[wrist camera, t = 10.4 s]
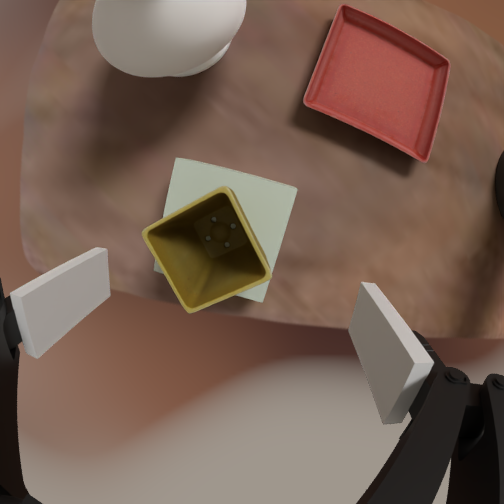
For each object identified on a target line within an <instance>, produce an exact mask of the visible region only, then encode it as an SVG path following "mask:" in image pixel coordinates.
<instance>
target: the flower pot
mask: <svg viewBox="0 0 504 504" xmlns="http://www.w3.org/2000/svg"><path fill="white" fill-rule="evenodd" d="M213 217H215V218H216V222H212V220H211V219H212V218H213ZM231 224H235V225H236V227H235V228H231ZM206 236H210V238H211V239H210V240H209V241H208V240H206ZM142 237H143V239H144V241H145V242H146V244H147V246H148V248H149V249H150V251H151V253H152V254H153V256H154V258H155V260H156V261H157V263H158V265H159V266H160V268H161V270H162V271H163V273H164V275H165V277H166V278H167V280H168V282H169V284H170V286H171V287H172V289H173V291H174V293H175V294H176V296H177V298H178V300H179V301H180V303H181V305H182V306H183V308H184V309H185V310H186V311H187V313H189V314H191V313H194V312H197V311H199V310H201V309H204V308H206V307H208V306H211V305H213V304H215V303H218V302H220V301H222V300H225V299H227V298H229V297H232V296H234V295H237V294H239V293H241V292H244V291H246V290H248V289H251V288H253V287H255V286H258V285H260V284H262V283H265V282H266V281H268V280H270V279H271V278H272V272H271V269H270V266H269V263H268V260H267V257H266V255H265V253H264V251H263V249H262V247H261V245H260V243H259V241H258V239H257V237H256V235H255V233H254V231H253V229H252V227H251V225H250V223H249V221H248V219H247V217H246V215H245V213H244V211H243V209H242V207H241V205H240V203H239V201H238V199H237V197H236V195H235V193H234V191H233V190H232V189H230V188H229V187H227V186H221V187H219V188H217V189H215V190H213V191H211V192H209V193H207V194H206V195H204V196H202V197H200V198H198V199H197V200H195V201H193V202H191V203H189V204H187V205H186V206H184V207H182V208H180V209H178V210H177V211H175V212H173V213H171V214H170V215H168V216H166V217H164V218H162V219H160V220H159V221H157V222H155V223H153V224H151V225H150V226H148V227H146V228H145V229H144V230H143V231H142ZM226 242H228V243H229V247H225V243H226Z"/></svg>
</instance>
